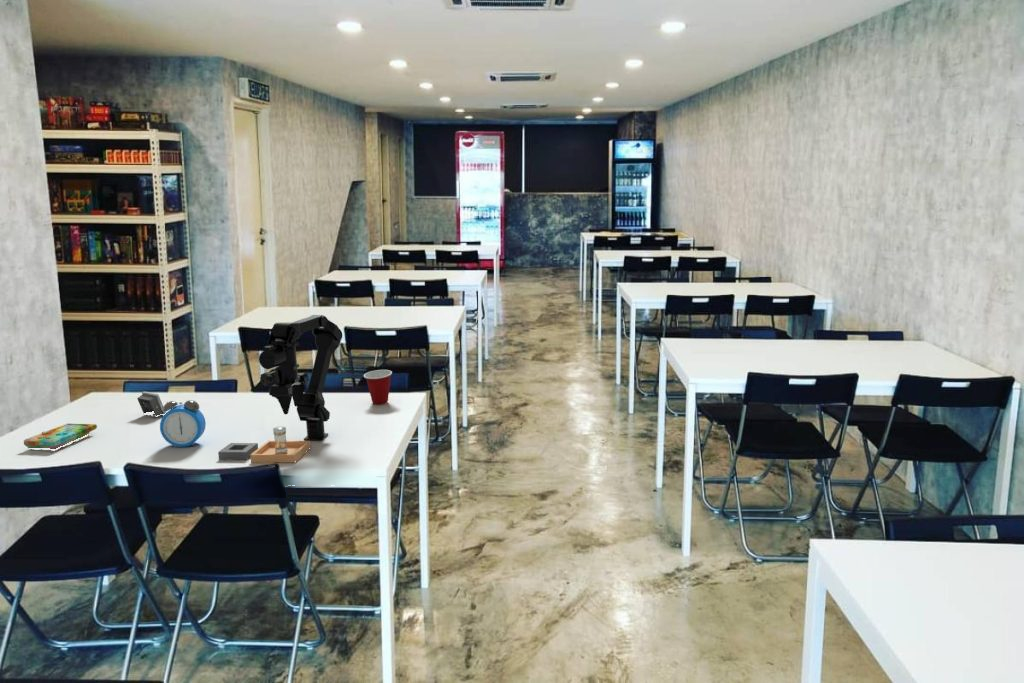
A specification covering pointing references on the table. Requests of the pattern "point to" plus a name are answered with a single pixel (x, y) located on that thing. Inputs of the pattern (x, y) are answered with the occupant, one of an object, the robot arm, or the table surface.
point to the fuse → (280, 440)
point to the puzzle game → (59, 436)
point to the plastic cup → (378, 385)
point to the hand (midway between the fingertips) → (291, 410)
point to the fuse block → (237, 451)
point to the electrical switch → (151, 403)
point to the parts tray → (268, 454)
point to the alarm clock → (182, 423)
